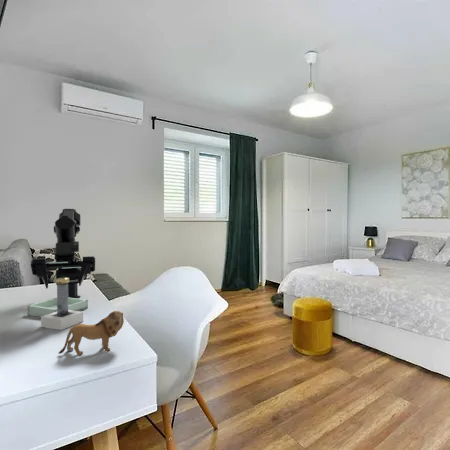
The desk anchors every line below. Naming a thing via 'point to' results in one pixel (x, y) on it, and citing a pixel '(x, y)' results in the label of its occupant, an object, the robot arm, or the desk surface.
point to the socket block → (61, 320)
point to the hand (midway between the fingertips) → (63, 286)
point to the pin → (62, 296)
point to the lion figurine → (95, 332)
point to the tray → (51, 306)
